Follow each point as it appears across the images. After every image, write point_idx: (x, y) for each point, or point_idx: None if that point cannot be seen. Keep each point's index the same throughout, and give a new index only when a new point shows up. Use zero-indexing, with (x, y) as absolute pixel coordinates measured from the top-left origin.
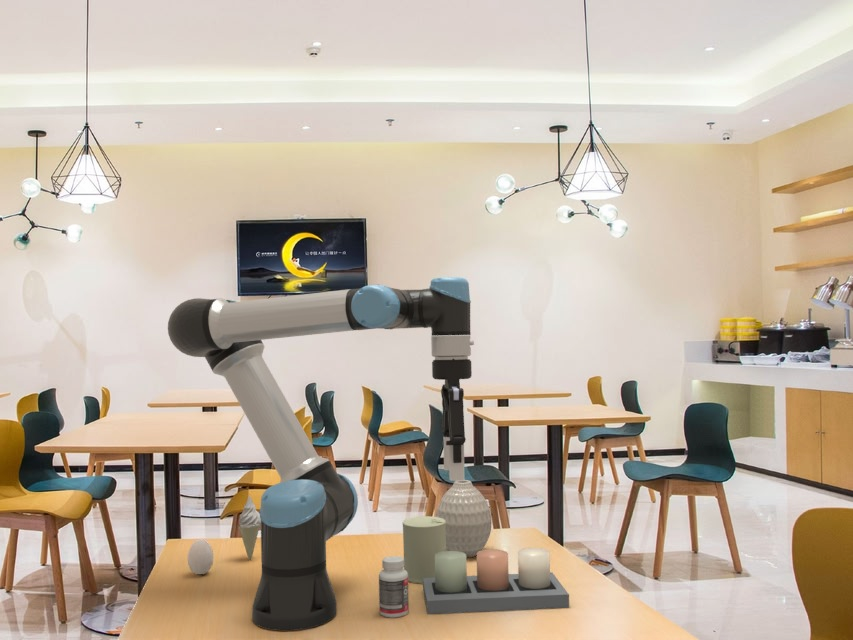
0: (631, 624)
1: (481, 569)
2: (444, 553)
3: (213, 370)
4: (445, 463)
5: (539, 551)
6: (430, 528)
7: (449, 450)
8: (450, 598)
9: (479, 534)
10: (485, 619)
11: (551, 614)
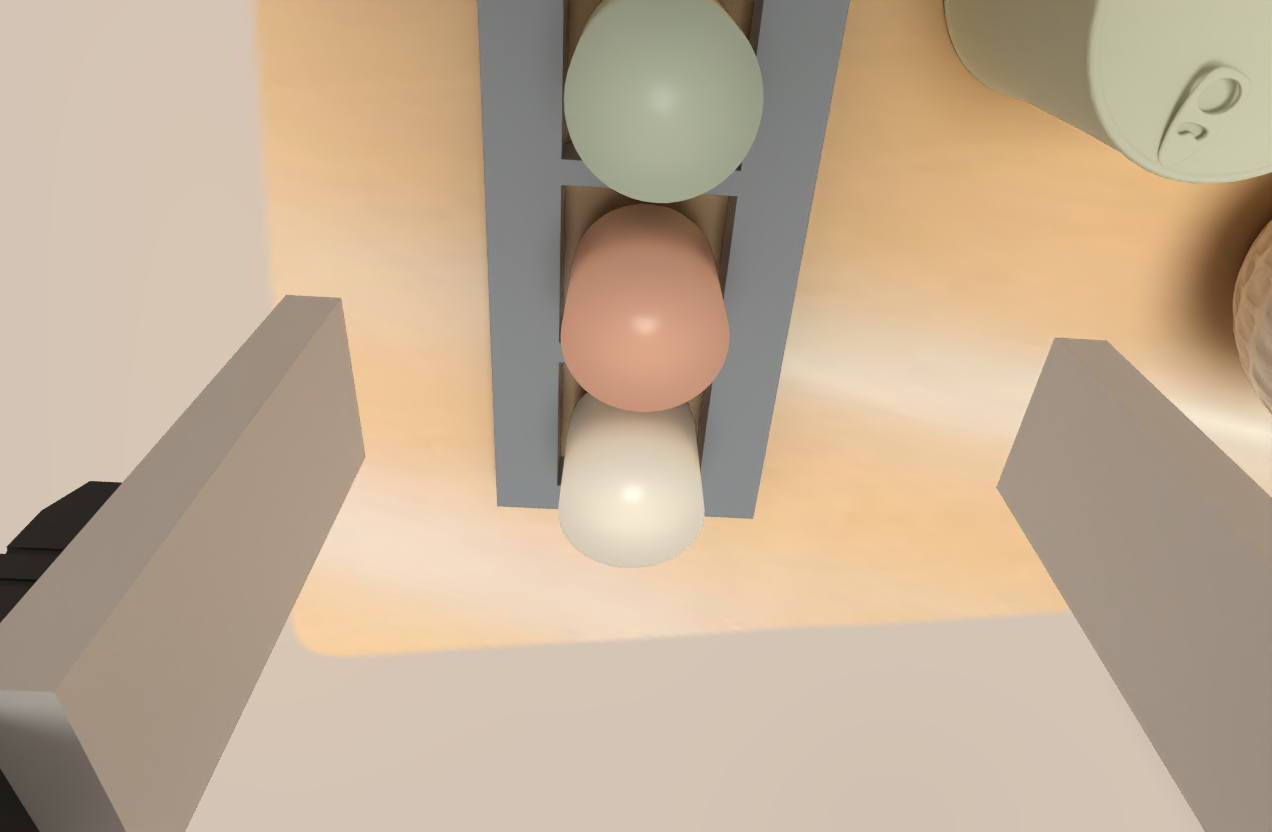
0: (351, 584)
1: (599, 249)
2: (714, 72)
3: None
4: (1093, 403)
5: (631, 535)
6: (1084, 33)
7: (39, 589)
8: (496, 35)
9: (1250, 363)
10: (406, 169)
11: (445, 411)
